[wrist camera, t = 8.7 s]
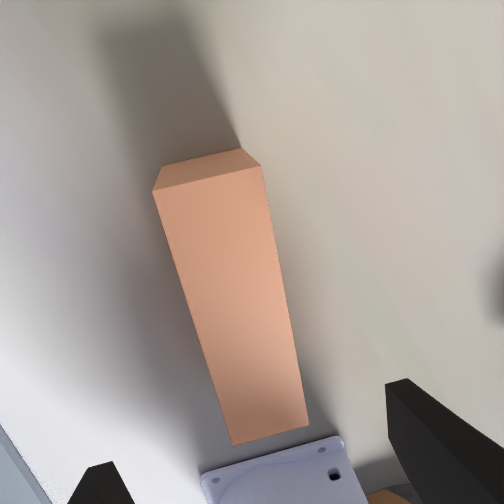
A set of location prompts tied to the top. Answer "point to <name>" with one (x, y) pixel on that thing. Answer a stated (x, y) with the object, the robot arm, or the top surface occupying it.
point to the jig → (17, 477)
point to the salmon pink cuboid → (234, 289)
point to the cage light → (395, 495)
